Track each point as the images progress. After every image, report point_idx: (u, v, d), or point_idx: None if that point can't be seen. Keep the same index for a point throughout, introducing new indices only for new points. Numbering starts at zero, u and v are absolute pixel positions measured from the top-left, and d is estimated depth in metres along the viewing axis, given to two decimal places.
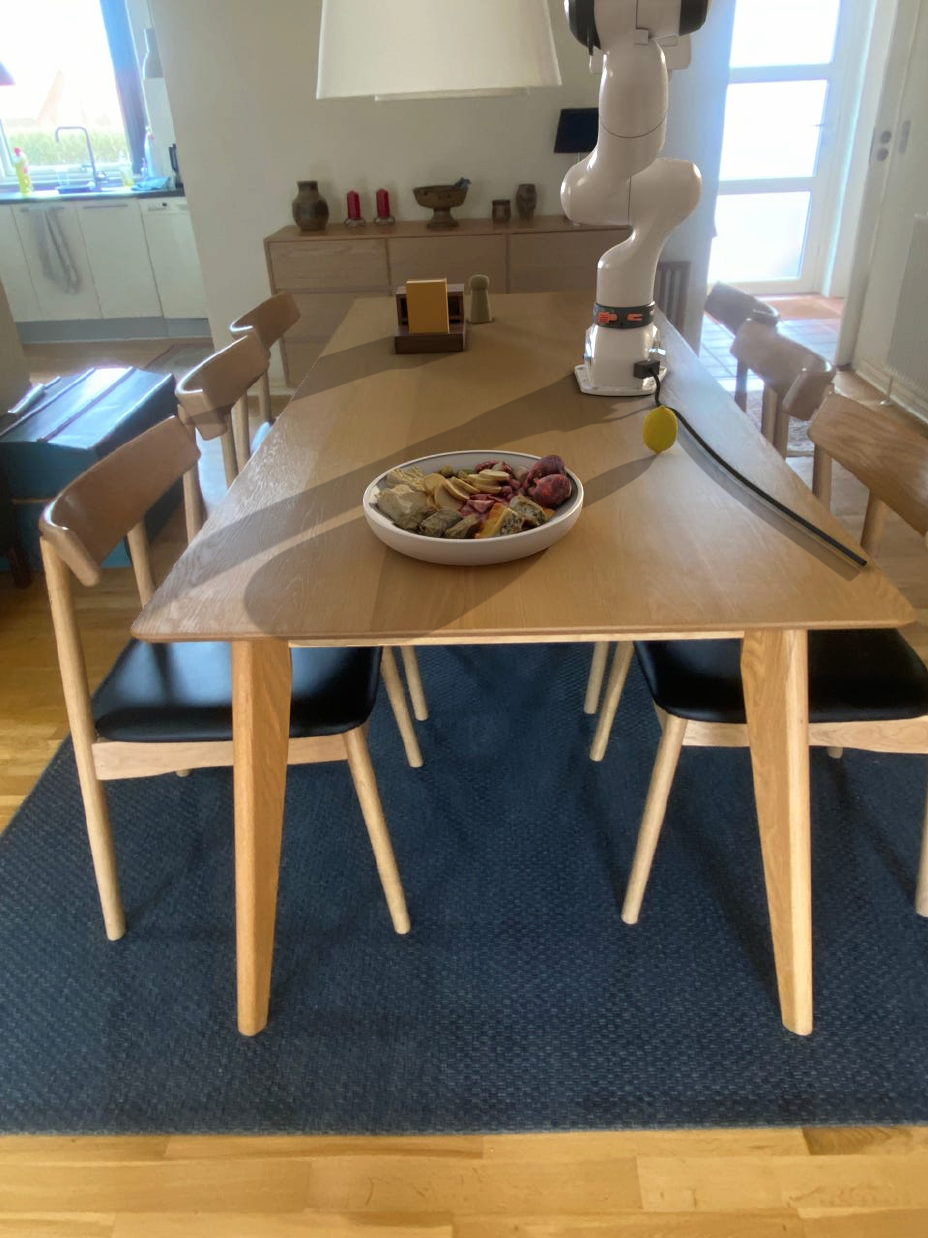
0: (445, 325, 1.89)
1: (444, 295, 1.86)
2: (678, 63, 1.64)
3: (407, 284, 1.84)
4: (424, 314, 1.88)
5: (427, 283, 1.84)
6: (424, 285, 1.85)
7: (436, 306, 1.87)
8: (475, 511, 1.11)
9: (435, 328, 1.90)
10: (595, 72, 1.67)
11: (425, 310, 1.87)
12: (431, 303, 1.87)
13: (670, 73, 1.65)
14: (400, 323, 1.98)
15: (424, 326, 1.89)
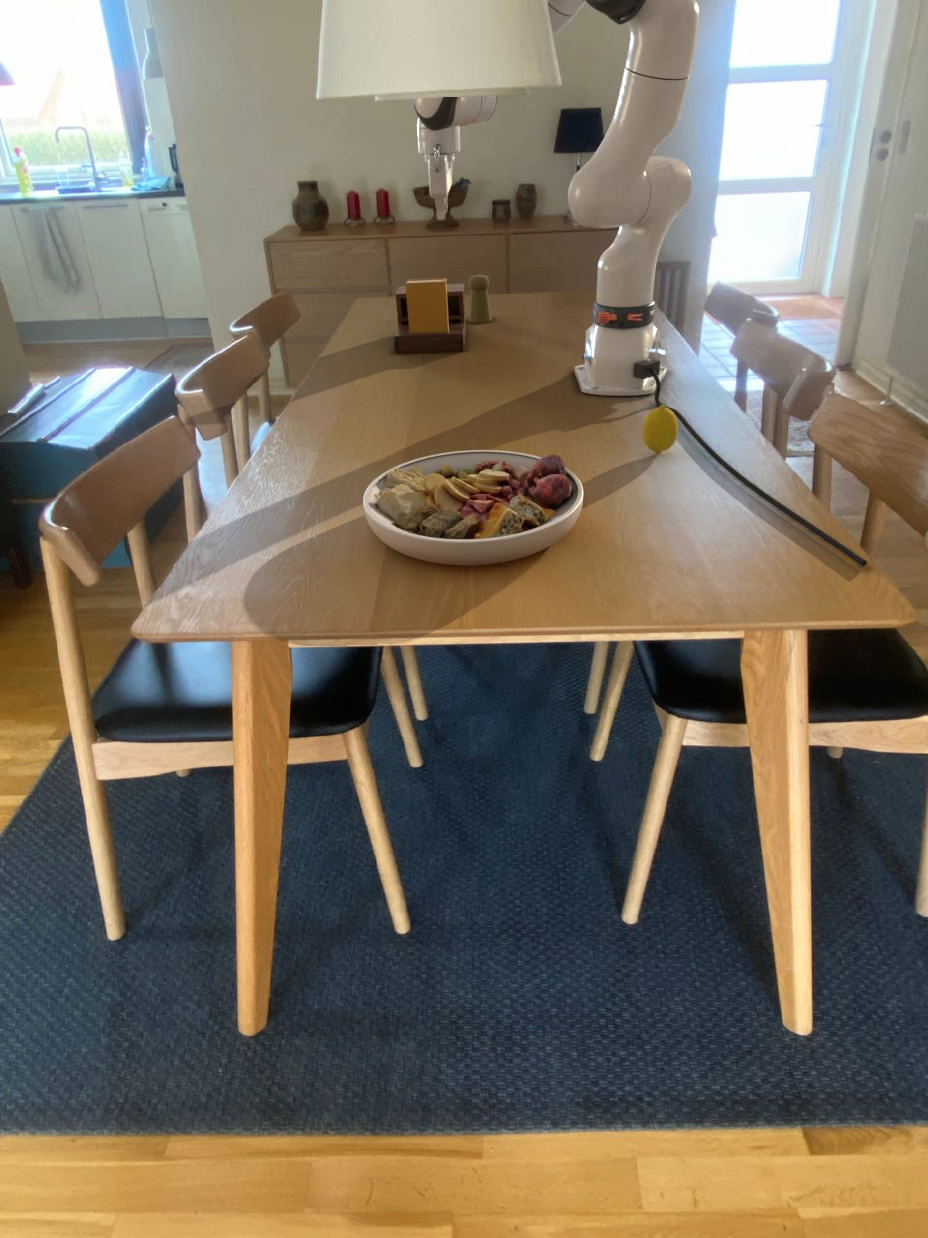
0: (445, 325, 1.89)
1: (444, 295, 1.86)
2: (451, 182, 1.82)
3: (407, 284, 1.84)
4: (424, 314, 1.88)
5: (427, 283, 1.84)
6: (424, 285, 1.85)
7: (436, 306, 1.87)
8: (475, 511, 1.11)
9: (435, 328, 1.90)
10: (447, 195, 1.69)
11: (425, 310, 1.87)
12: (431, 303, 1.87)
13: None
14: (400, 323, 1.98)
15: (424, 326, 1.89)
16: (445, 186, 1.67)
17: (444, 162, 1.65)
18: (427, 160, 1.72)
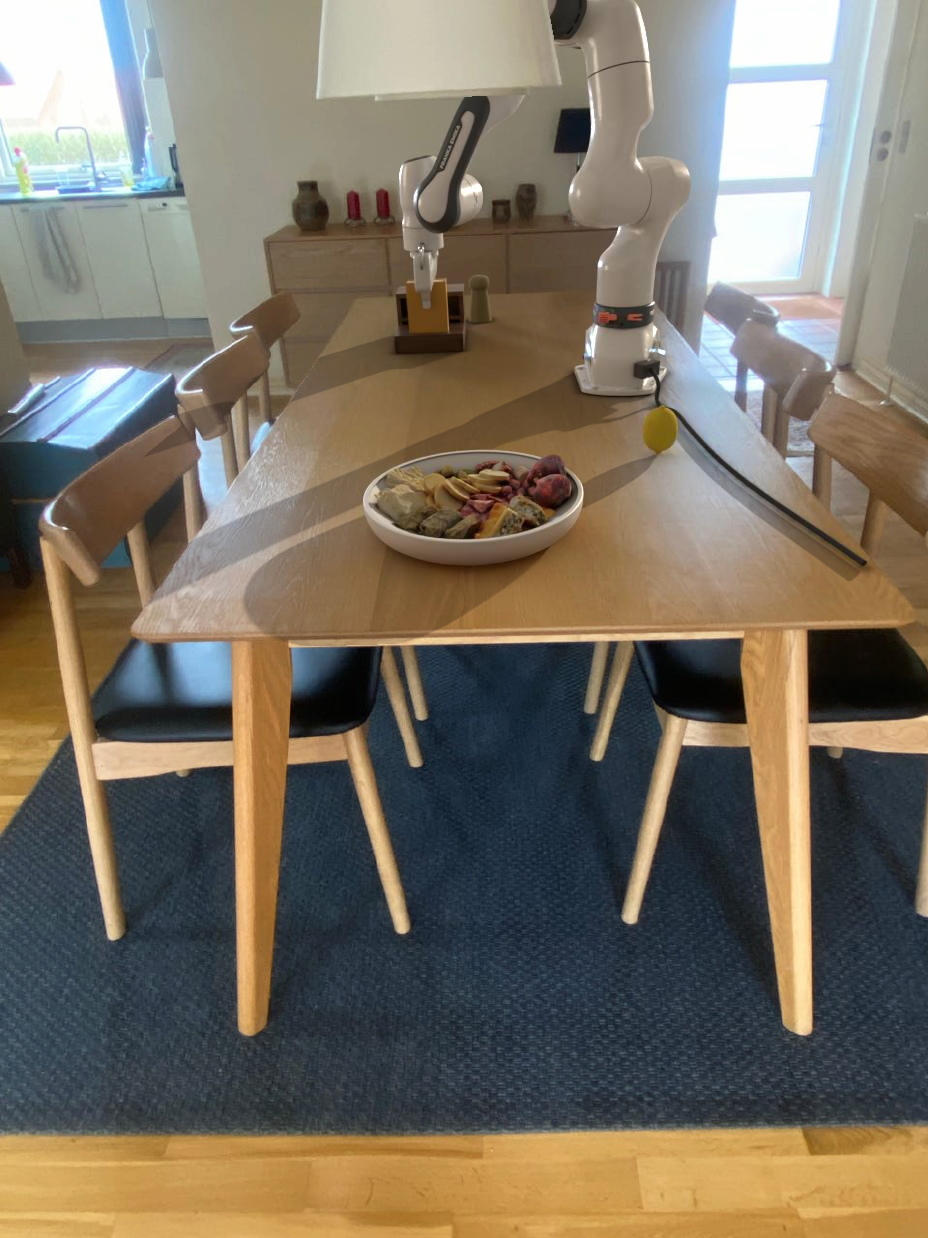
0: (445, 325, 1.89)
1: (444, 295, 1.86)
2: None
3: (407, 284, 1.84)
4: (424, 314, 1.88)
5: None
6: None
7: (436, 306, 1.87)
8: (475, 511, 1.11)
9: (435, 328, 1.90)
10: (431, 290, 1.79)
11: (425, 310, 1.87)
12: (431, 303, 1.87)
13: None
14: (400, 323, 1.98)
15: (424, 326, 1.89)
16: (429, 282, 1.77)
17: (428, 260, 1.75)
18: (412, 256, 1.81)
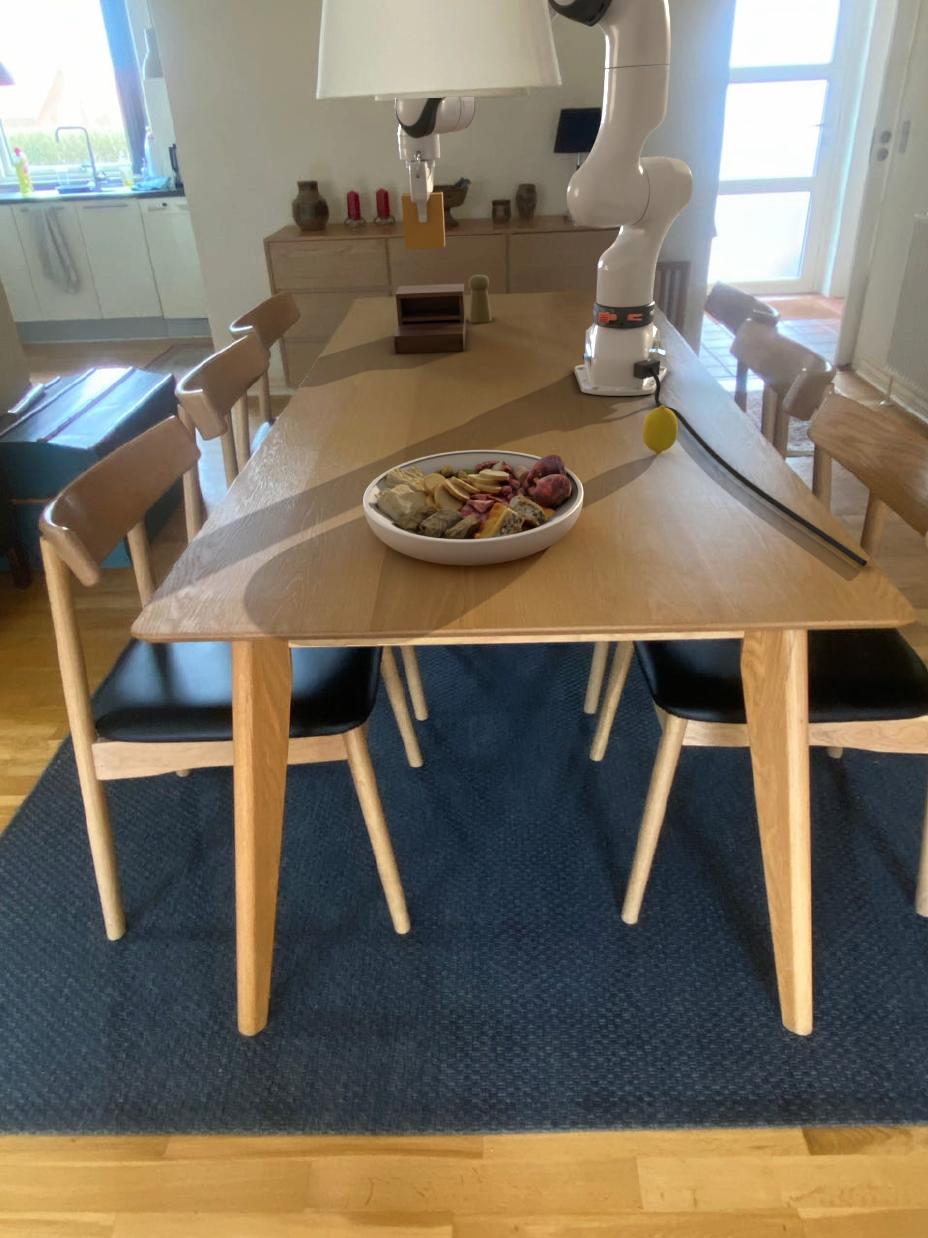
0: (442, 240, 1.86)
1: (440, 208, 1.83)
2: (432, 188, 1.89)
3: (403, 197, 1.82)
4: (420, 229, 1.85)
5: None
6: None
7: (432, 220, 1.84)
8: (475, 511, 1.11)
9: (432, 244, 1.87)
10: (427, 200, 1.76)
11: (421, 224, 1.85)
12: (427, 217, 1.84)
13: None
14: (400, 323, 1.98)
15: (420, 242, 1.87)
16: (425, 191, 1.74)
17: (424, 168, 1.72)
18: (408, 166, 1.78)
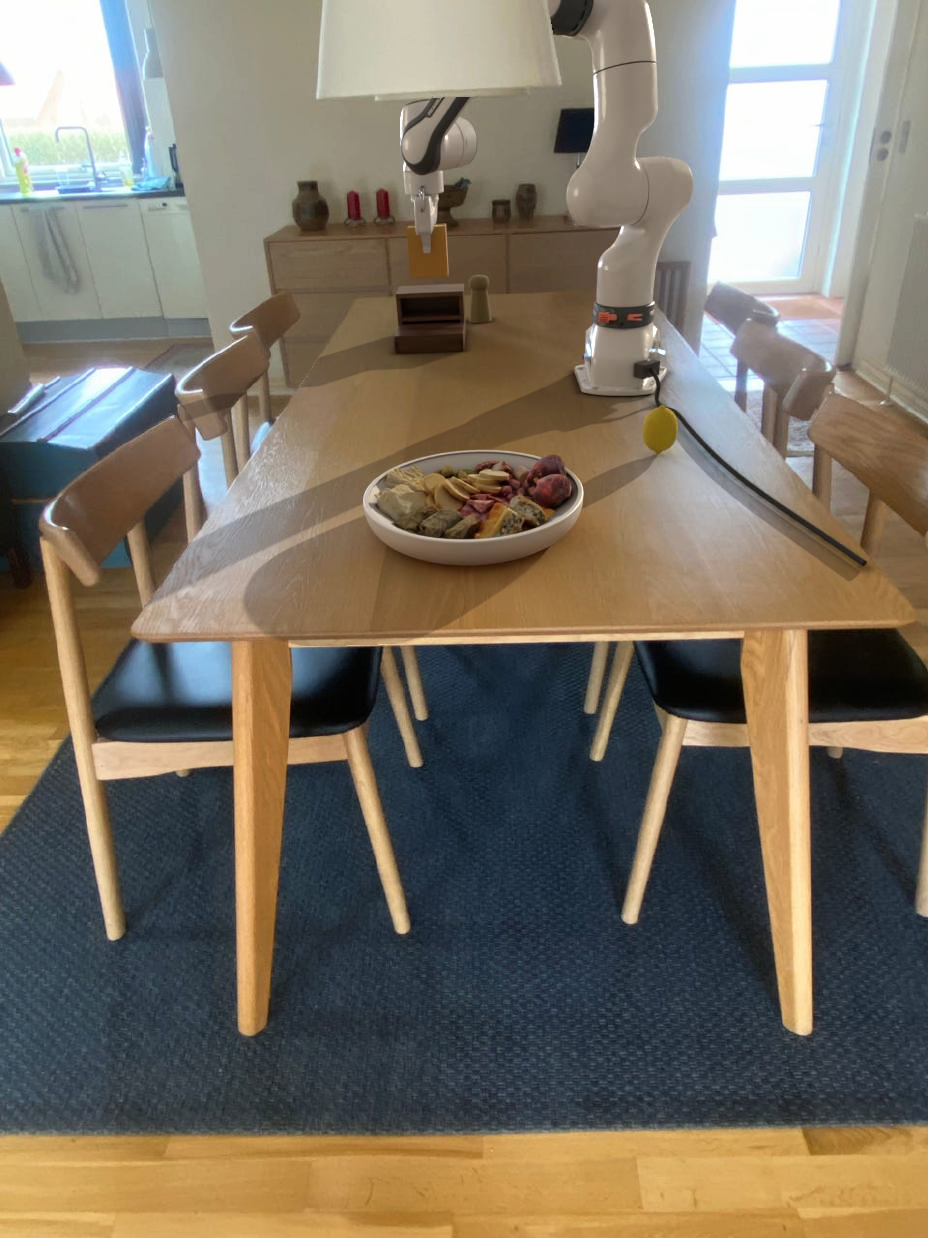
0: (445, 270, 1.93)
1: (444, 240, 1.90)
2: (436, 219, 1.96)
3: (408, 229, 1.89)
4: (424, 259, 1.92)
5: None
6: None
7: (436, 251, 1.91)
8: (475, 511, 1.11)
9: (436, 273, 1.94)
10: (431, 233, 1.83)
11: (425, 255, 1.92)
12: (431, 248, 1.91)
13: None
14: (400, 323, 1.98)
15: (424, 271, 1.94)
16: (429, 224, 1.81)
17: (428, 203, 1.79)
18: (413, 200, 1.86)
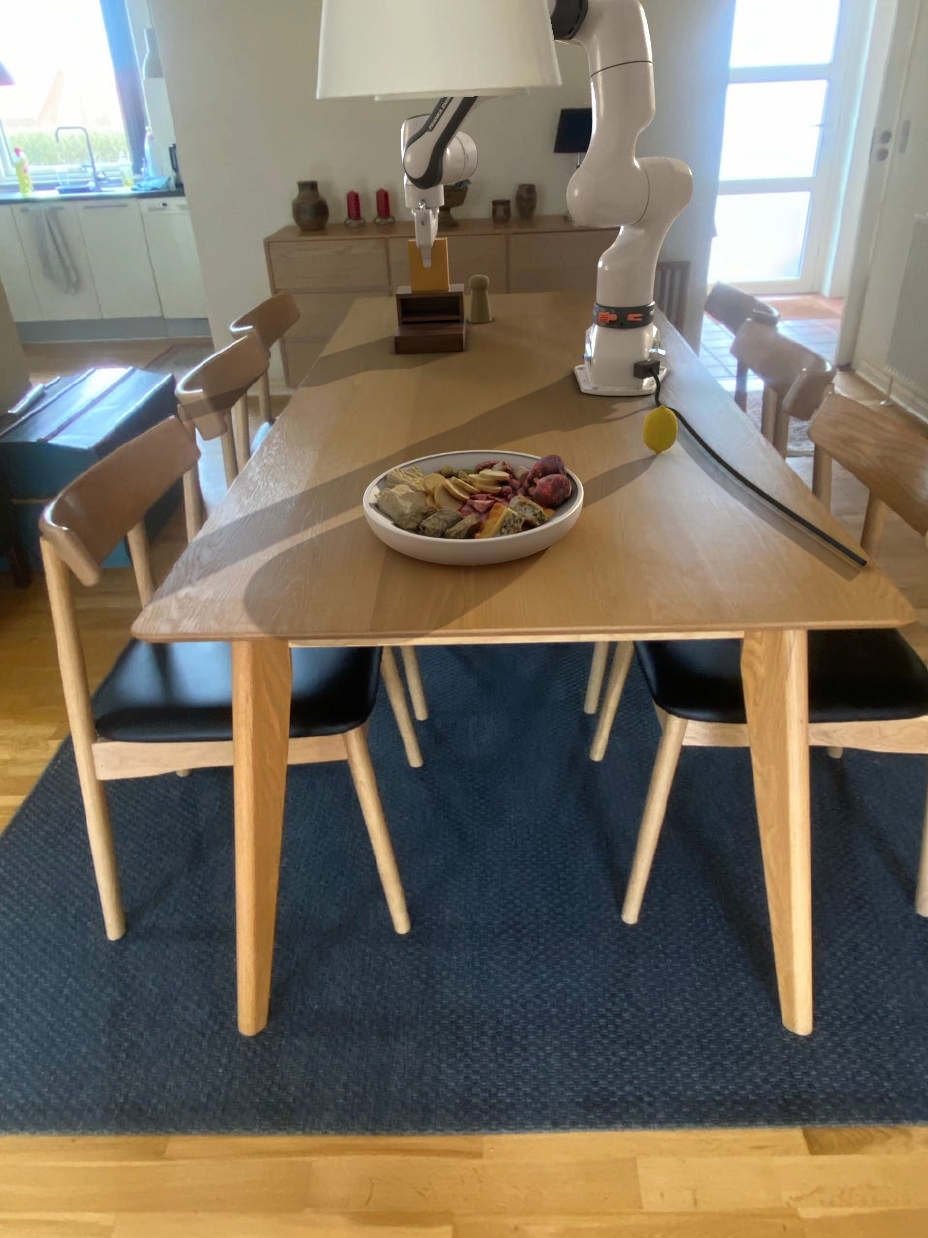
0: (446, 282, 1.95)
1: (445, 253, 1.91)
2: (436, 231, 1.98)
3: (409, 242, 1.90)
4: (425, 272, 1.94)
5: None
6: None
7: (437, 264, 1.93)
8: (475, 511, 1.11)
9: (436, 286, 1.95)
10: None
11: (426, 268, 1.93)
12: (432, 261, 1.92)
13: None
14: (400, 323, 1.98)
15: (425, 284, 1.95)
16: (430, 238, 1.82)
17: (429, 216, 1.81)
18: (414, 213, 1.87)
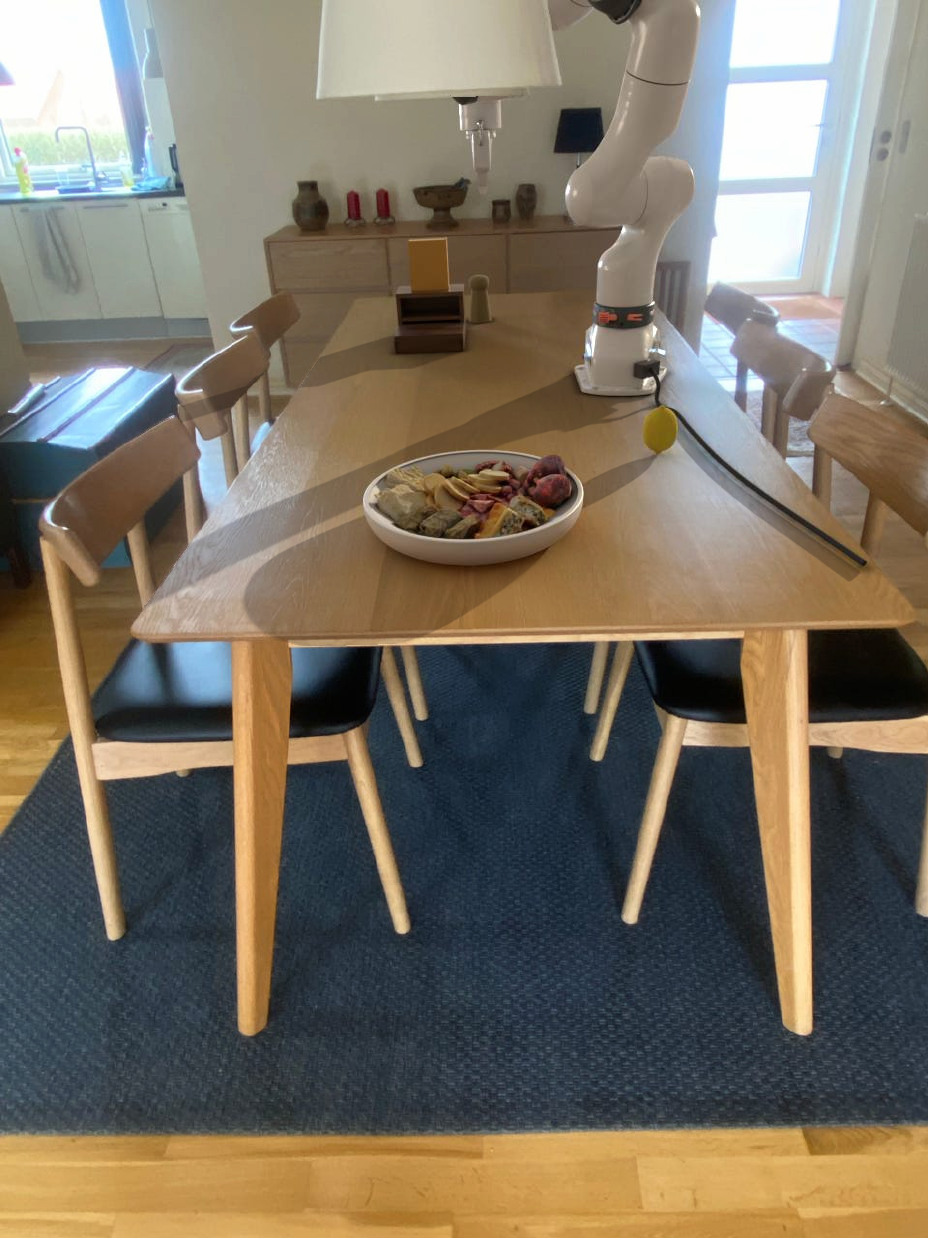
0: (446, 282, 1.95)
1: (445, 253, 1.91)
2: None
3: (409, 242, 1.90)
4: (425, 272, 1.94)
5: (428, 241, 1.90)
6: (426, 243, 1.90)
7: (437, 264, 1.93)
8: (475, 511, 1.11)
9: (436, 286, 1.95)
10: (490, 169, 1.73)
11: (426, 268, 1.93)
12: (432, 261, 1.92)
13: None
14: (400, 323, 1.98)
15: (425, 284, 1.95)
16: (489, 160, 1.71)
17: (488, 136, 1.69)
18: (469, 137, 1.76)
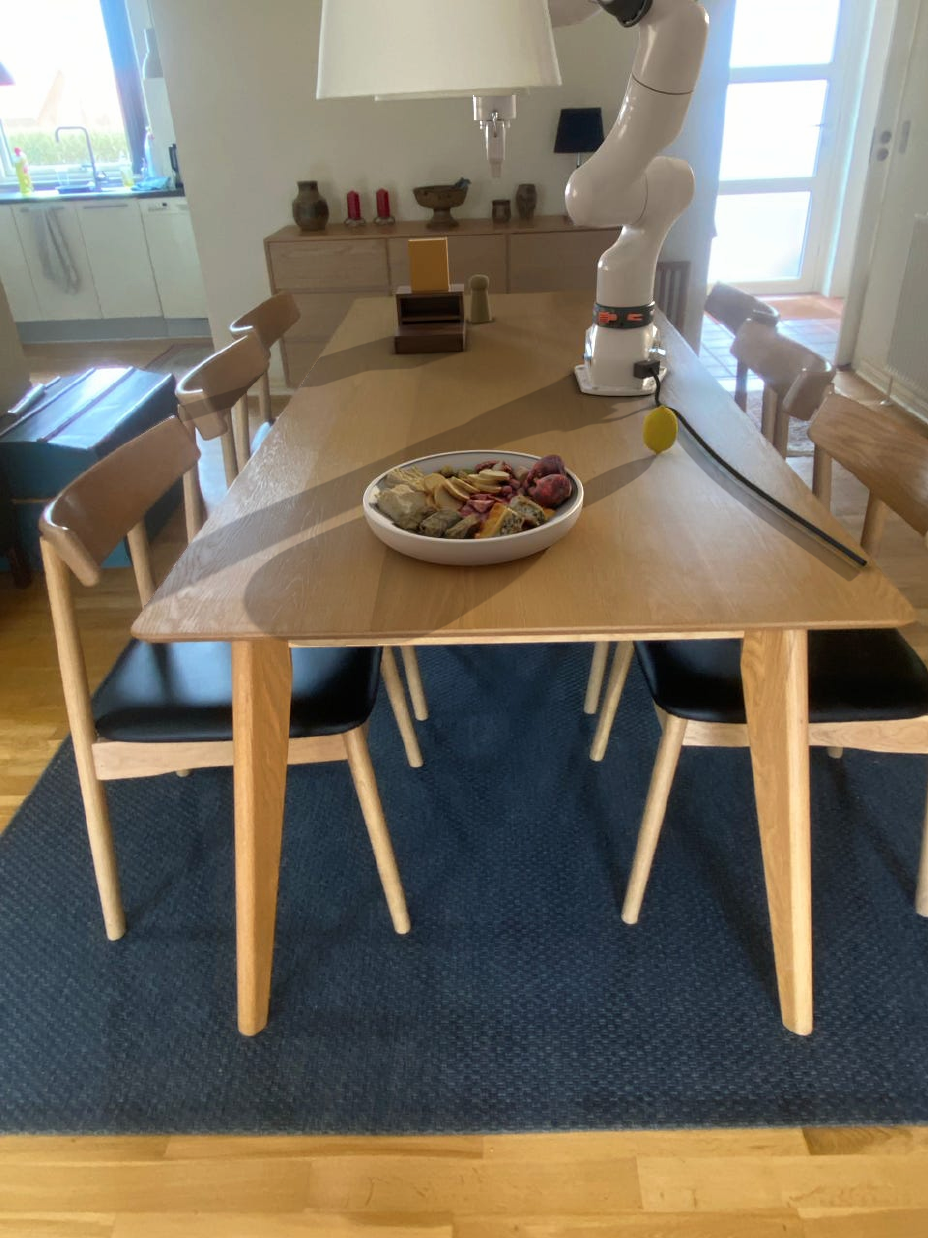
0: (446, 282, 1.95)
1: (445, 253, 1.91)
2: None
3: (409, 242, 1.90)
4: (425, 272, 1.94)
5: (428, 241, 1.90)
6: (426, 243, 1.90)
7: (437, 264, 1.93)
8: (475, 511, 1.11)
9: (436, 286, 1.95)
10: None
11: (426, 268, 1.93)
12: (432, 261, 1.92)
13: None
14: (400, 323, 1.98)
15: (425, 284, 1.95)
16: (503, 151, 1.69)
17: (502, 127, 1.68)
18: (483, 127, 1.74)
